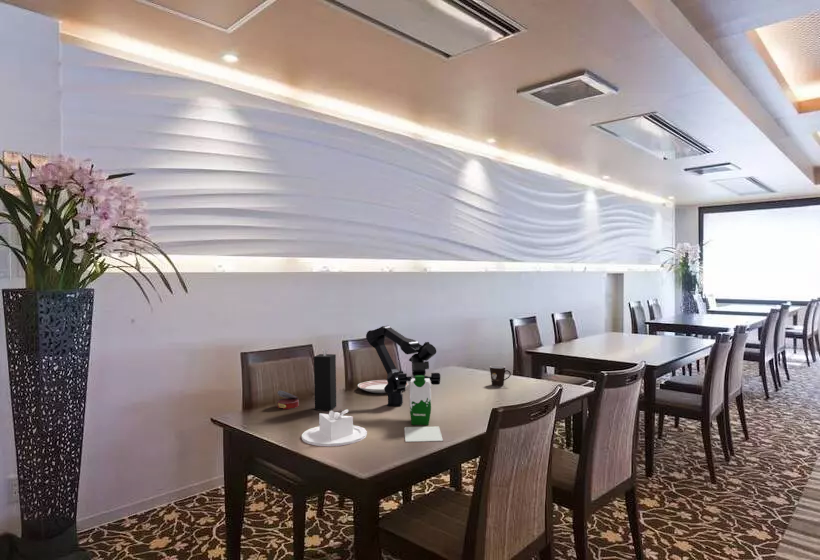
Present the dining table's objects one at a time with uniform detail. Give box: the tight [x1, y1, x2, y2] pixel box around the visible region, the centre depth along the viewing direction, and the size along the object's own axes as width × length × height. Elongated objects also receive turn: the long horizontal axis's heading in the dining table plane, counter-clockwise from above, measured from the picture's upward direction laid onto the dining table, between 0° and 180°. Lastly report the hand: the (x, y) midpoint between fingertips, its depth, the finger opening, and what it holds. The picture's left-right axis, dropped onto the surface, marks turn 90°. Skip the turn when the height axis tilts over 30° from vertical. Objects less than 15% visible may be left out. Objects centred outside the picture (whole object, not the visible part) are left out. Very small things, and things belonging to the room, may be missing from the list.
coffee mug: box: [489, 365, 512, 387], centre depth 293 cm, size 12×9×10 cm
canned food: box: [277, 390, 300, 410], centre depth 253 cm, size 11×10×10 cm
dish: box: [301, 408, 368, 447], centre depth 206 cm, size 25×25×11 cm
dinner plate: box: [357, 379, 410, 394], centre depth 287 cm, size 28×27×3 cm
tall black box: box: [313, 347, 337, 411], centre depth 248 cm, size 8×8×28 cm
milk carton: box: [409, 375, 432, 426], centre depth 222 cm, size 9×9×20 cm
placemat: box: [403, 425, 444, 443], centre depth 207 cm, size 18×14×1 cm
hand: (419, 395), depth 230 cm, fingers closed
